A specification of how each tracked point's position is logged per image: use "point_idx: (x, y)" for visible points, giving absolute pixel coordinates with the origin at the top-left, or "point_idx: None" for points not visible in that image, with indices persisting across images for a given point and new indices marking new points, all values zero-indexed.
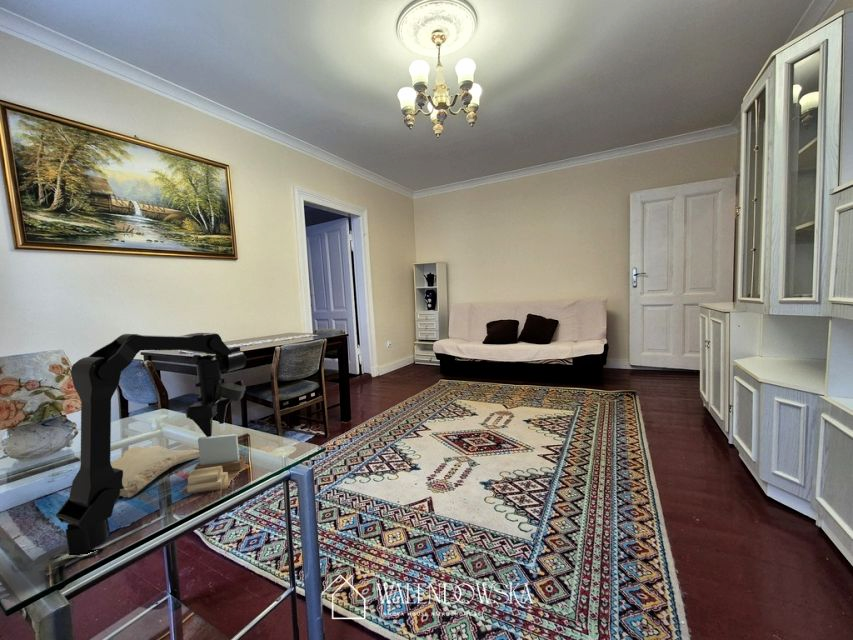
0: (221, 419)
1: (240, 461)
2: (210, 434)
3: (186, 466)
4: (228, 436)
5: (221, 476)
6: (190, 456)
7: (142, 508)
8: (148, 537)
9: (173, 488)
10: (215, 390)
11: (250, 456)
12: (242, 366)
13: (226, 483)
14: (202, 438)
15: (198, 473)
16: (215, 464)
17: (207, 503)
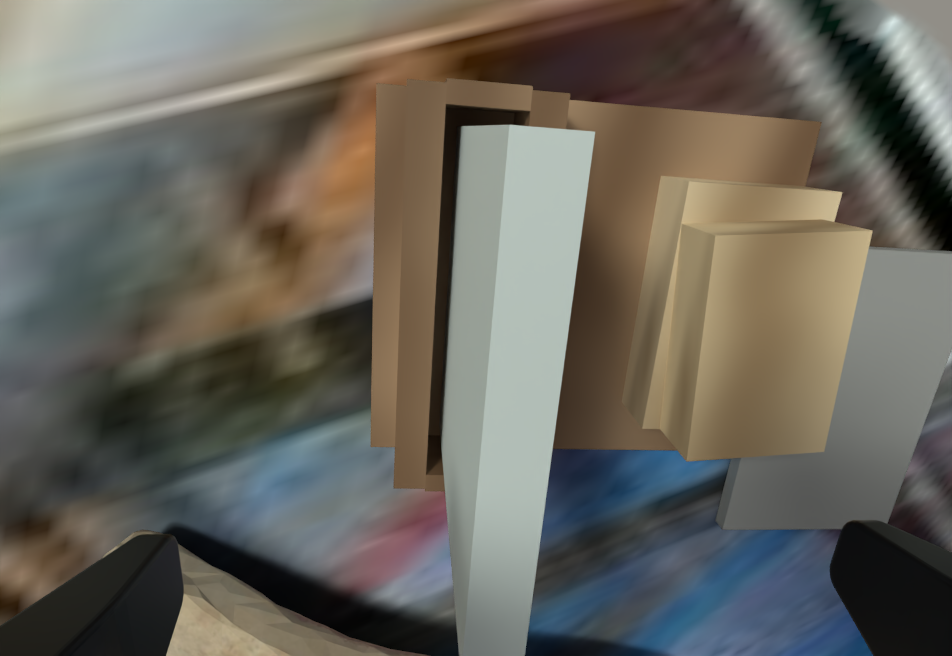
0: (132, 650)
1: (551, 93)
2: (921, 545)
3: (272, 571)
4: (576, 266)
5: (752, 212)
6: (243, 603)
7: (743, 577)
8: None
9: (580, 520)
10: None
11: (184, 95)
12: None
13: (735, 167)
14: (508, 631)
15: (777, 399)
16: None
17: (880, 238)
